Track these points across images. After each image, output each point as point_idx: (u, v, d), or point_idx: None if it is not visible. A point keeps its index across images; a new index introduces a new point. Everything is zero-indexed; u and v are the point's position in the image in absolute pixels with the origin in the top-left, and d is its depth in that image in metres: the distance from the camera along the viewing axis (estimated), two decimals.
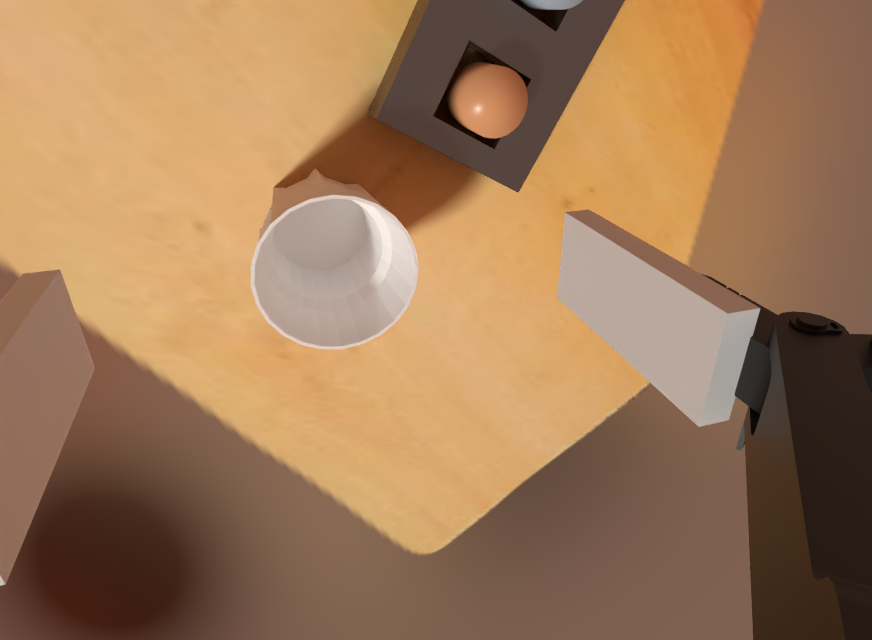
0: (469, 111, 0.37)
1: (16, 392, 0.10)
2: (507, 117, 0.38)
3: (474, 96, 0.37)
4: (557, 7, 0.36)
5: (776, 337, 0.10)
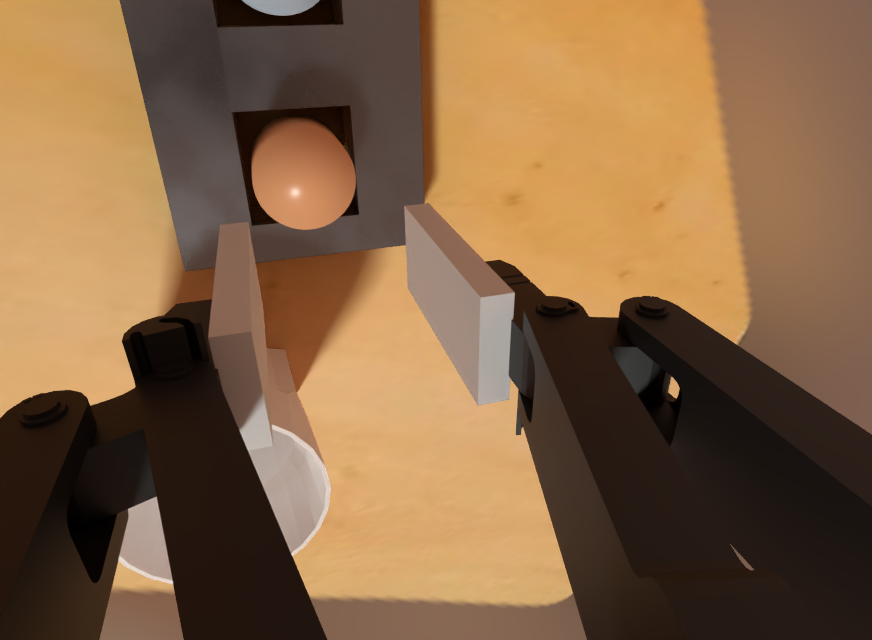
0: (276, 212, 0.25)
1: (255, 308, 0.13)
2: (333, 187, 0.25)
3: (269, 191, 0.25)
4: (303, 8, 0.22)
5: (530, 327, 0.11)
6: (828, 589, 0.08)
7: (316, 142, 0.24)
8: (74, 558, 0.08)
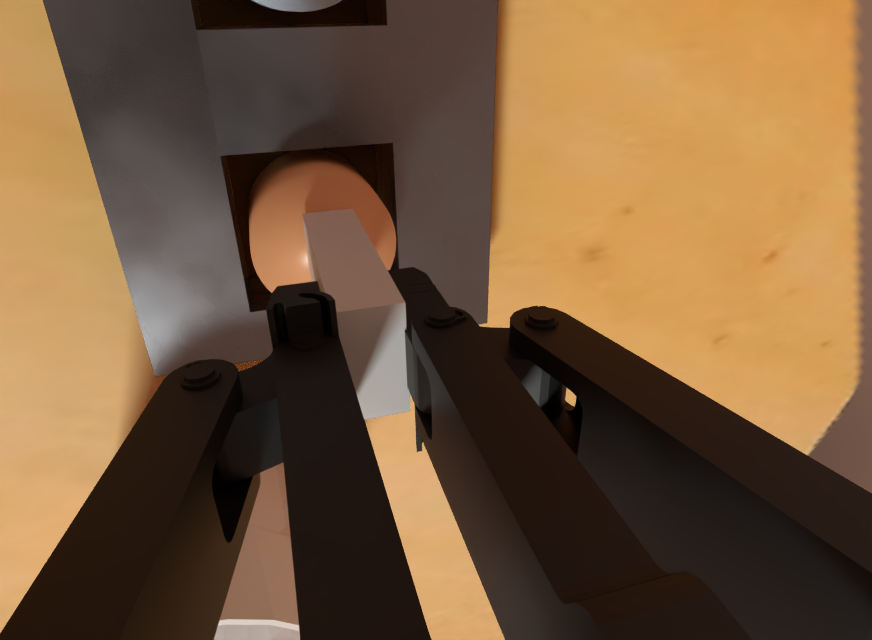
0: None
1: None
2: None
3: (275, 263, 0.17)
4: (332, 0, 0.14)
5: (420, 341, 0.10)
6: (746, 593, 0.08)
7: (342, 194, 0.17)
8: (214, 516, 0.08)
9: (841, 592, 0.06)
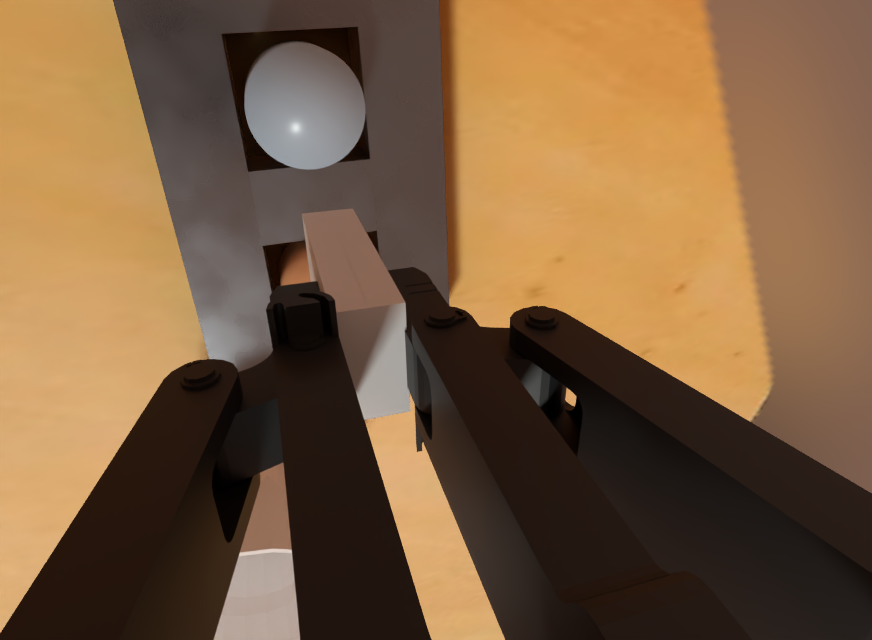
0: None
1: None
2: None
3: None
4: (333, 161, 0.23)
5: (420, 341, 0.10)
6: (745, 593, 0.08)
7: None
8: (213, 517, 0.08)
9: (841, 592, 0.06)
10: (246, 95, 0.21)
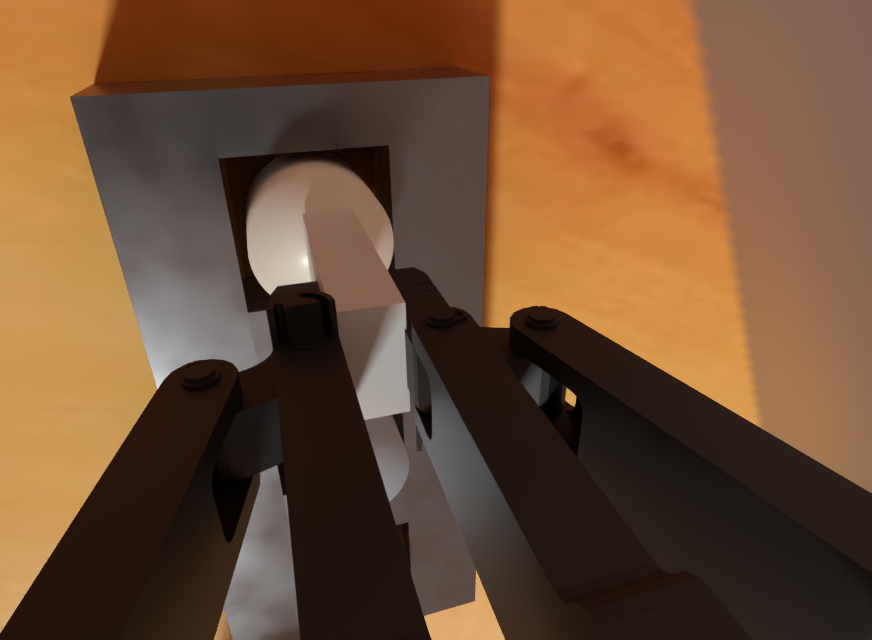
0: None
1: None
2: None
3: None
4: None
5: (420, 342, 0.10)
6: (746, 593, 0.08)
7: None
8: (214, 517, 0.08)
9: (841, 592, 0.06)
10: None
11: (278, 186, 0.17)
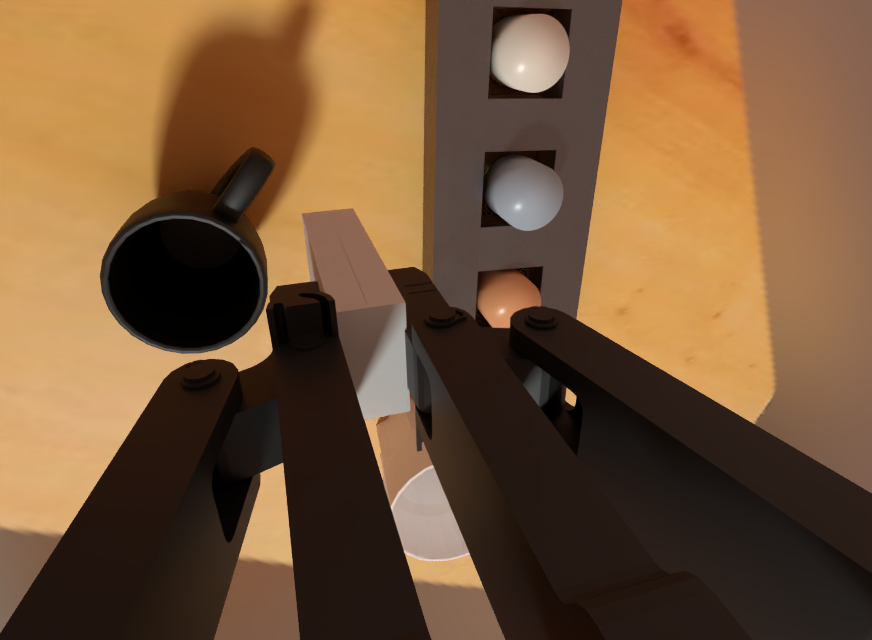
0: (495, 323, 0.43)
1: None
2: None
3: (494, 312, 0.43)
4: (539, 226, 0.39)
5: (420, 341, 0.10)
6: (745, 593, 0.08)
7: (523, 286, 0.42)
8: (214, 517, 0.08)
9: (841, 592, 0.06)
10: (504, 189, 0.37)
11: (521, 18, 0.35)
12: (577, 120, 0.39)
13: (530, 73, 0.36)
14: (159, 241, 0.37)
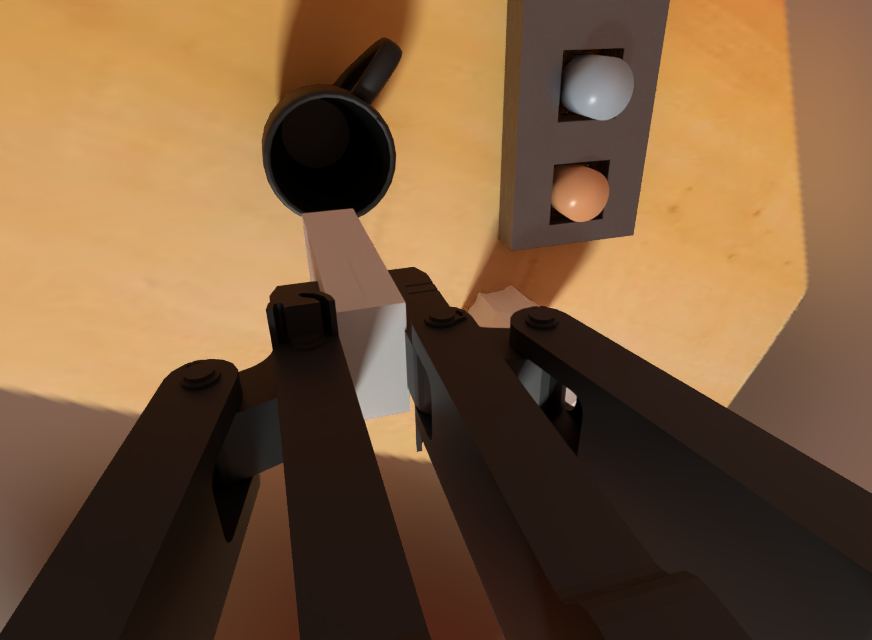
0: (569, 212, 0.49)
1: None
2: (597, 199, 0.49)
3: (568, 202, 0.48)
4: (612, 116, 0.44)
5: (420, 341, 0.10)
6: (746, 593, 0.08)
7: (594, 177, 0.48)
8: (214, 517, 0.08)
9: (841, 592, 0.06)
10: (584, 81, 0.42)
11: None
12: (643, 19, 0.44)
13: None
14: (281, 141, 0.43)
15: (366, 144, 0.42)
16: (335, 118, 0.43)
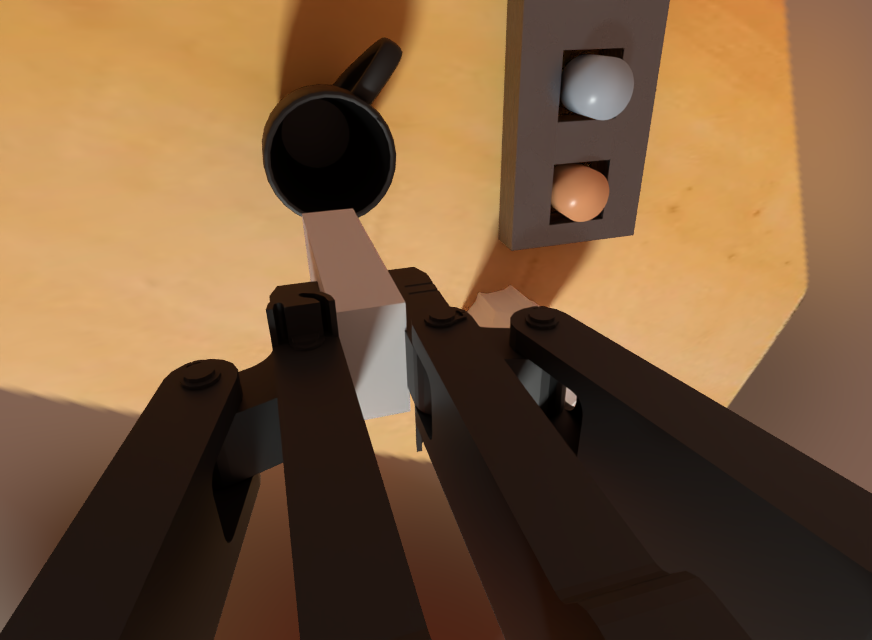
0: (569, 212, 0.49)
1: None
2: (597, 199, 0.49)
3: (568, 202, 0.48)
4: (612, 116, 0.44)
5: (420, 342, 0.10)
6: (746, 593, 0.08)
7: (594, 177, 0.48)
8: (214, 517, 0.08)
9: (841, 592, 0.06)
10: (584, 81, 0.42)
11: None
12: (643, 19, 0.44)
13: None
14: (281, 141, 0.43)
15: (366, 144, 0.42)
16: (335, 118, 0.43)
